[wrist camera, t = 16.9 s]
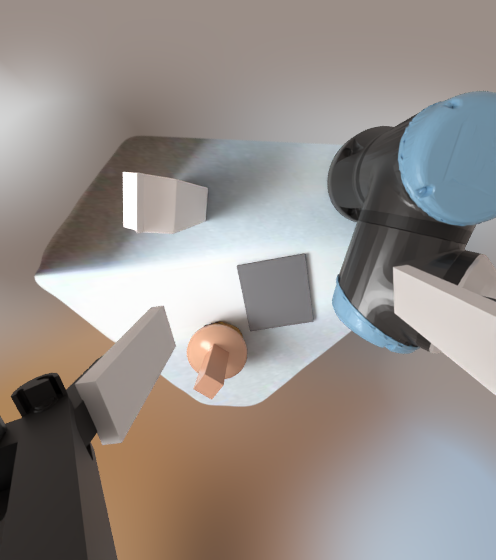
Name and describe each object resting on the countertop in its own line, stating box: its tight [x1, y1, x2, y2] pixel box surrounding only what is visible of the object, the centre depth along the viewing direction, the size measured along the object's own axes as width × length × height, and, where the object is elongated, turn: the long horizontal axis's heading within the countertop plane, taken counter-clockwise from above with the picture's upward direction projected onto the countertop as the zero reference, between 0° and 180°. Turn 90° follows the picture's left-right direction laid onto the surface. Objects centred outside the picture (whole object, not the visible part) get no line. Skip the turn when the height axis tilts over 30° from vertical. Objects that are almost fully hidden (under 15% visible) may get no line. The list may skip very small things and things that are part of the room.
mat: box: [237, 254, 313, 331], centre depth 51 cm, size 13×14×1 cm
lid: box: [187, 324, 247, 399], centre depth 46 cm, size 12×12×10 cm
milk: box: [123, 172, 208, 234], centre depth 36 cm, size 6×6×22 cm
